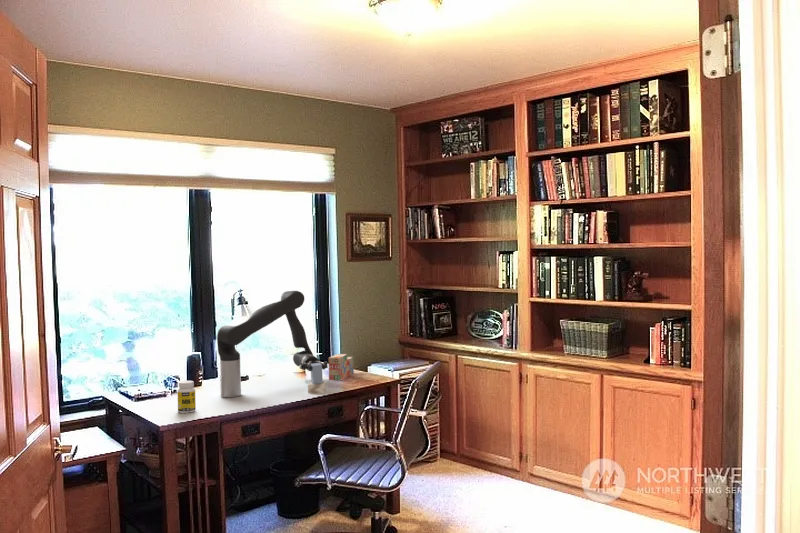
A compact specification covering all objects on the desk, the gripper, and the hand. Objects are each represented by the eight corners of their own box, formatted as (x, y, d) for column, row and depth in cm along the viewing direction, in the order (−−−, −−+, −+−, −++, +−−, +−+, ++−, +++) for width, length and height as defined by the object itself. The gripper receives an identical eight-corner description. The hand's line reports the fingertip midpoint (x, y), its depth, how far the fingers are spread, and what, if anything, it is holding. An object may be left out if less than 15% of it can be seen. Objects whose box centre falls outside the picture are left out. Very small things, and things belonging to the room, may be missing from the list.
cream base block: (308, 394, 311) (307, 384, 311) (310, 390, 319) (310, 381, 319) (323, 393, 311) (323, 384, 311) (326, 390, 319) (325, 381, 319)
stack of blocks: (343, 373, 363) (342, 351, 363) (353, 373, 361) (353, 351, 361) (328, 380, 342) (328, 357, 342) (339, 381, 341) (339, 357, 340)
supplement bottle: (181, 414, 276) (180, 384, 276) (175, 411, 282) (174, 381, 281) (198, 411, 280) (197, 381, 280) (192, 408, 286) (191, 379, 286)
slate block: (313, 384, 312) (312, 365, 311) (311, 382, 316) (310, 363, 315) (322, 383, 314) (321, 364, 313) (320, 380, 318) (319, 362, 317)
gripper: (295, 356, 326) (302, 361, 310) (323, 354, 331) (332, 359, 315) (296, 371, 326) (303, 377, 310) (324, 368, 331) (332, 374, 315)
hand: (317, 367), depth 312 cm, fingers open, 6 cm apart
